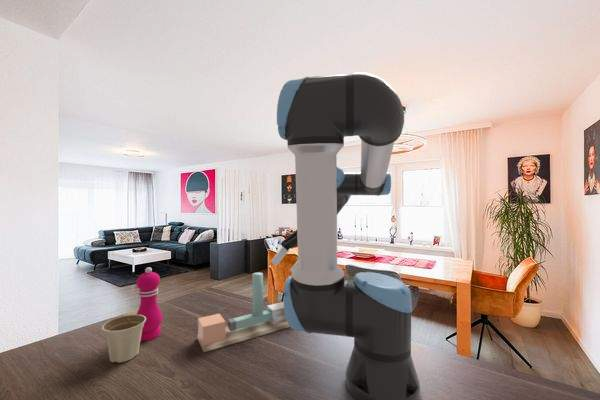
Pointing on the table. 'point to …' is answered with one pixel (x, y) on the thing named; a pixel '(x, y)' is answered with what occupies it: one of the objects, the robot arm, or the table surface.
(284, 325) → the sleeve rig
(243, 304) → the table surface
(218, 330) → the socket block
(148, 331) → the pepper mill
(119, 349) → the flower pot
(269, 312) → the upright post with base
